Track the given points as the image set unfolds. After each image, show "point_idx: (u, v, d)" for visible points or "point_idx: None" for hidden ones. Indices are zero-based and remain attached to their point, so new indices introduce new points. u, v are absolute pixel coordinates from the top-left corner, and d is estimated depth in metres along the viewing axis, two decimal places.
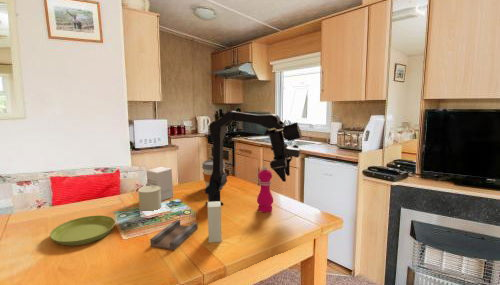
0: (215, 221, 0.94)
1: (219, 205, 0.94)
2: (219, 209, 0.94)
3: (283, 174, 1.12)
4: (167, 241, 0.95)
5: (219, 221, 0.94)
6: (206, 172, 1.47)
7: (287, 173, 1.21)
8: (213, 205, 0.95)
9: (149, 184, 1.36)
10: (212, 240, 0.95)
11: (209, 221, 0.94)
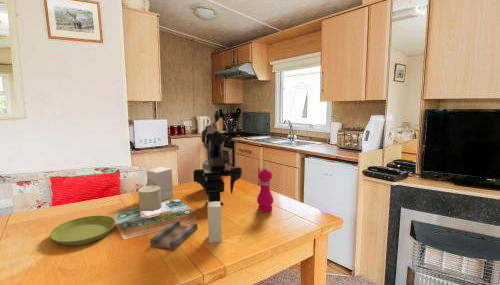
0: (215, 221, 0.94)
1: (219, 205, 0.94)
2: (219, 209, 0.94)
3: (203, 187, 1.04)
4: (167, 241, 0.95)
5: (219, 221, 0.94)
6: None
7: (230, 190, 1.05)
8: (213, 205, 0.95)
9: (149, 184, 1.36)
10: (212, 240, 0.95)
11: (209, 221, 0.94)
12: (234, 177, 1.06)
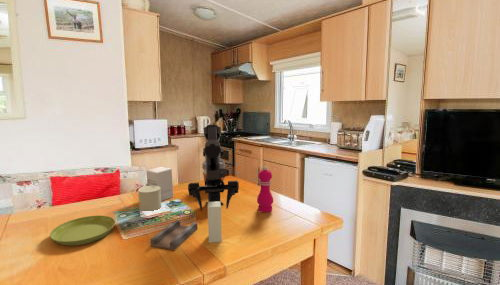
0: (215, 221, 0.94)
1: (219, 205, 0.94)
2: (219, 209, 0.94)
3: (198, 201, 1.00)
4: (167, 241, 0.95)
5: (219, 221, 0.94)
6: None
7: (226, 205, 1.00)
8: (213, 205, 0.95)
9: (149, 184, 1.36)
10: (212, 240, 0.95)
11: (209, 221, 0.94)
12: (230, 191, 1.02)
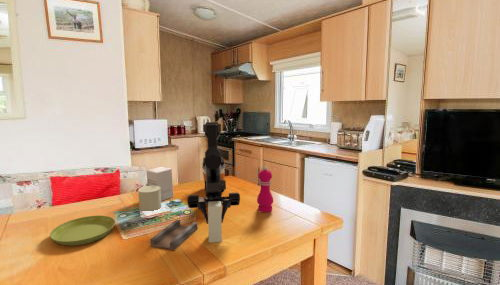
0: (215, 221, 0.94)
1: (220, 205, 0.94)
2: (219, 209, 0.94)
3: (204, 214, 0.96)
4: (167, 241, 0.95)
5: (220, 221, 0.94)
6: None
7: None
8: (214, 205, 0.95)
9: (149, 184, 1.36)
10: (212, 240, 0.95)
11: (209, 221, 0.94)
12: (225, 204, 0.98)
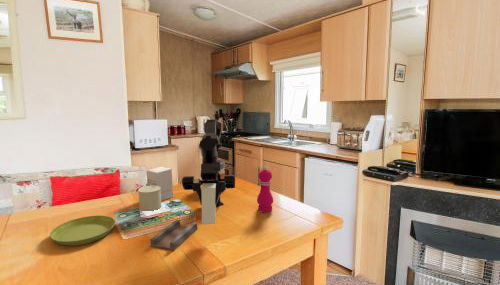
0: (208, 202, 0.93)
1: (213, 187, 0.93)
2: (213, 190, 0.92)
3: (198, 195, 0.95)
4: (167, 241, 0.95)
5: (213, 202, 0.93)
6: None
7: (215, 201, 0.95)
8: (208, 186, 0.93)
9: (149, 184, 1.36)
10: (205, 222, 0.94)
11: (203, 202, 0.93)
12: (220, 186, 0.96)
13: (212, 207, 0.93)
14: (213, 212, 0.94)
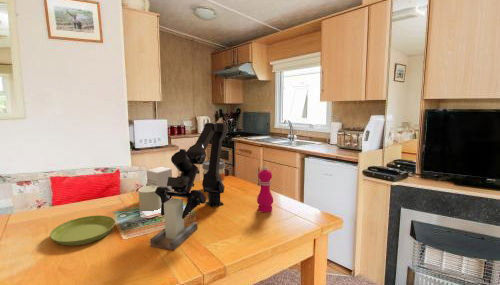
0: (170, 218, 0.95)
1: (175, 203, 0.95)
2: (173, 207, 0.94)
3: None
4: (167, 241, 0.95)
5: (174, 219, 0.95)
6: (206, 172, 1.47)
7: None
8: (171, 202, 0.96)
9: (149, 184, 1.36)
10: (168, 236, 0.97)
11: (165, 217, 0.96)
12: (190, 201, 0.96)
13: (173, 223, 0.95)
14: (174, 228, 0.95)
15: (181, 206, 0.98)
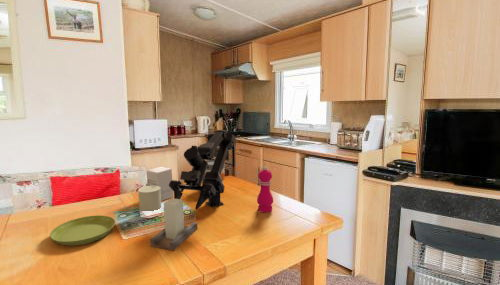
0: (170, 218, 0.95)
1: (175, 203, 0.95)
2: (173, 207, 0.94)
3: None
4: (167, 241, 0.95)
5: (174, 219, 0.95)
6: None
7: None
8: (171, 202, 0.96)
9: (149, 184, 1.36)
10: (168, 236, 0.97)
11: (165, 217, 0.96)
12: (202, 193, 1.05)
13: (173, 223, 0.95)
14: (174, 228, 0.95)
15: (181, 206, 0.98)
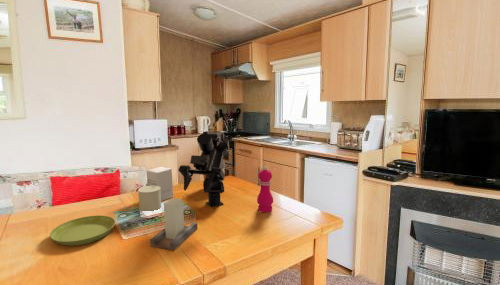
0: (170, 218, 0.95)
1: (175, 203, 0.95)
2: (173, 207, 0.94)
3: None
4: (167, 241, 0.95)
5: (174, 219, 0.95)
6: None
7: None
8: (171, 202, 0.96)
9: (149, 184, 1.36)
10: (168, 236, 0.97)
11: (165, 217, 0.96)
12: (211, 177, 1.07)
13: (173, 223, 0.95)
14: (174, 228, 0.95)
15: (181, 206, 0.98)
